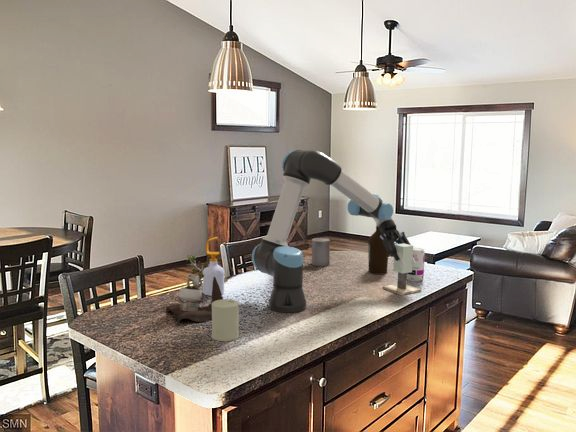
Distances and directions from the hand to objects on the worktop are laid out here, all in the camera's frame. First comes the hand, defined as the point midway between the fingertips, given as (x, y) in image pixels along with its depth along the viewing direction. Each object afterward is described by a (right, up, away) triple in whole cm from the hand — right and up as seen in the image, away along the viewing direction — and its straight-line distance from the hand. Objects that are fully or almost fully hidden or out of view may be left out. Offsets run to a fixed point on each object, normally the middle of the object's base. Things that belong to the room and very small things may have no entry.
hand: (408, 265), depth 230 cm
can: (-74, -19, -54) cm, 94 cm away
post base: (-2, -12, +5) cm, 13 cm away
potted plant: (-88, -16, -31) cm, 94 cm away
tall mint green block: (-2, -3, +4) cm, 5 cm away
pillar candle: (-36, -5, +53) cm, 64 cm away
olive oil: (-7, -7, +38) cm, 39 cm away
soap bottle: (-85, -12, -4) cm, 86 cm away
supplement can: (+8, -9, +24) cm, 27 cm away
